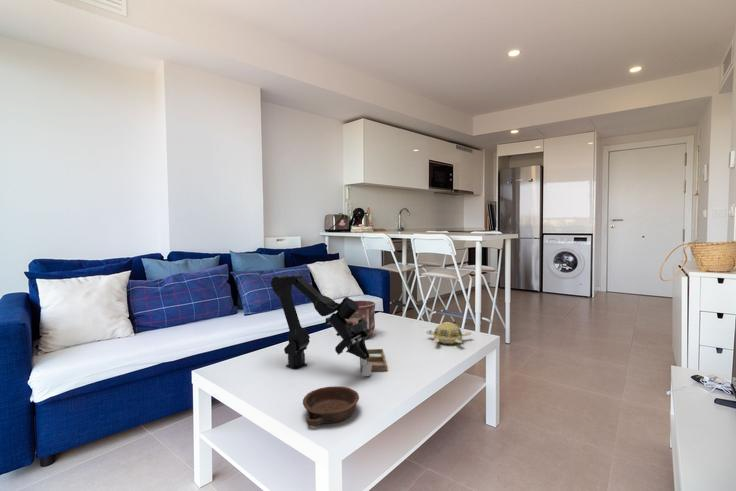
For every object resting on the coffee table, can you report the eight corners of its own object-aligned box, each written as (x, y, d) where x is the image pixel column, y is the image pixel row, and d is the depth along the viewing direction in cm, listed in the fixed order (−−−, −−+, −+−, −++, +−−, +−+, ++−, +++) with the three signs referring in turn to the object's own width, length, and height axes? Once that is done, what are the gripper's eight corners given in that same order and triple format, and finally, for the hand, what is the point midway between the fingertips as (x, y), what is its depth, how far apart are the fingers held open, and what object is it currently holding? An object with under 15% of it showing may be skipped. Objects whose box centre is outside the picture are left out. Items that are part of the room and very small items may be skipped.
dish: (286, 422, 111) (285, 406, 111) (330, 393, 130) (329, 379, 130) (333, 437, 102) (332, 420, 102) (373, 404, 121) (372, 389, 121)
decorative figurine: (458, 353, 168) (458, 331, 167) (415, 346, 179) (415, 326, 178) (474, 337, 190) (474, 318, 190) (435, 332, 201) (435, 314, 201)
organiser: (387, 371, 148) (387, 365, 148) (360, 372, 148) (360, 366, 148) (382, 354, 169) (382, 348, 169) (359, 355, 168) (359, 349, 168)
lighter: (367, 375, 145) (370, 354, 147) (370, 375, 144) (373, 354, 146) (357, 375, 139) (360, 353, 141) (361, 375, 138) (364, 353, 140)
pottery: (375, 341, 188) (375, 306, 188) (341, 341, 189) (340, 306, 188) (375, 332, 206) (375, 300, 205) (344, 332, 206) (343, 300, 206)
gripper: (341, 318, 134) (368, 353, 129) (365, 308, 150) (391, 338, 145) (323, 337, 138) (350, 371, 133) (349, 325, 154) (373, 355, 149)
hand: (367, 358), depth 140 cm, fingers closed on lighter, 2 cm apart
